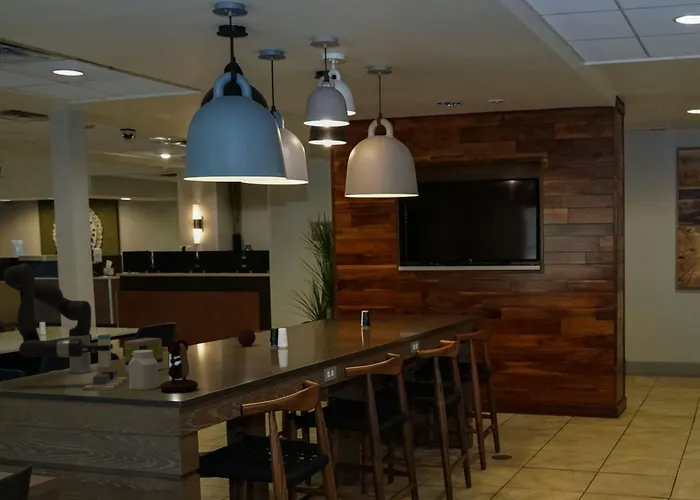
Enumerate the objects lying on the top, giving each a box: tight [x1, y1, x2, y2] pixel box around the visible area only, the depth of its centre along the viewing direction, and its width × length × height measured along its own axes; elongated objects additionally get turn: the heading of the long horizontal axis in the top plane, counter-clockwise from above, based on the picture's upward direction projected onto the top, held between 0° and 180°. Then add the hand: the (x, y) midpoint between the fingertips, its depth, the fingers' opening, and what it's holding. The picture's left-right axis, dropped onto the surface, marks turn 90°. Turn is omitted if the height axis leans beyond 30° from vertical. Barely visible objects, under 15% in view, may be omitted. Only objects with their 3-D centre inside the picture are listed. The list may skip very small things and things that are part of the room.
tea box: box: [123, 337, 164, 374], centre depth 403 cm, size 15×10×15 cm
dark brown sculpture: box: [159, 338, 199, 393], centre depth 346 cm, size 15×15×20 cm
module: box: [97, 333, 112, 368], centre depth 364 cm, size 4×4×13 cm
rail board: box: [82, 376, 128, 392], centre depth 365 cm, size 26×12×1 cm, turn 1°
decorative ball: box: [237, 328, 257, 347], centre depth 491 cm, size 10×10×10 cm
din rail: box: [92, 368, 120, 387], centre depth 365 cm, size 25×5×4 cm, turn 1°
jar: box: [128, 350, 159, 391], centre depth 355 cm, size 12×10×15 cm
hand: (110, 347), depth 365 cm, fingers closed on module, 4 cm apart
